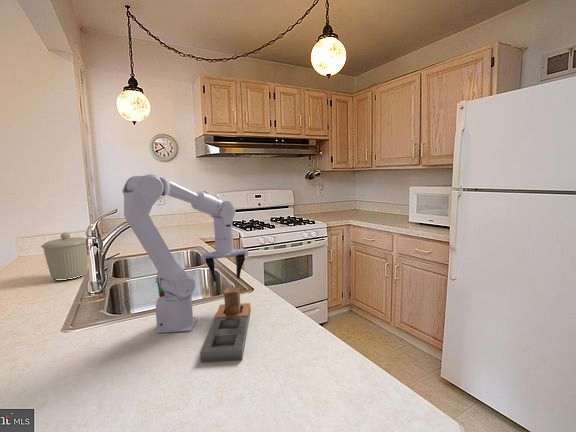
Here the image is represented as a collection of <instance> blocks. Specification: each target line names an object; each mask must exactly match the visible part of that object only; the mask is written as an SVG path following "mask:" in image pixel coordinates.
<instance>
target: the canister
mask: <svg viewBox="0 0 576 432" xmlns="http://www.w3.org/2000/svg"><path fill="white" fill-rule="evenodd" d="M86 239H87V238H86V237H79V236H78V237H77V236H76V237H75V236H74V237H71V235H70V233H68V232H62V233H61V234H60V238H59V239H58V238H57V239H52V240H49V241H46V242H44V243H43V244H42V245H40V247H41V248H42V249H43V253H44V257H45V259H46V260H45V261H46V264H47V268H48V270H49V275H50V276H51V279H53V280H54V279H68V278H73V277H77V276H80V275H83V274H85V273H86V272H87V273H88V267H89V258H88V259H87V251H86ZM87 273H86V274H87ZM86 274H85V275H86Z"/></svg>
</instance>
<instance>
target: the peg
mask: <svg viewBox="0 0 576 432" xmlns="http://www.w3.org/2000/svg"><path fill="white" fill-rule="evenodd" d="M240 292H241V291H240V287H226V288H225V290H224V293H223V295H224V304H225V314H233V313H241V305H240V304H241V293H240Z"/></svg>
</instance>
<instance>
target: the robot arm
mask: <svg viewBox="0 0 576 432" xmlns="http://www.w3.org/2000/svg"><path fill="white" fill-rule="evenodd" d="M121 192H122V195H123V216H124V218H125V220H126V221H127V223H128V225H129V226H130V228H131V229H132V231H133V233H134V234H135V236H136V238H137V240H139V241H138V242H139V243H140V244H141V246H142V248H143V249H144V251H145V252H146V254H147V256H148V257H149V259H150V261H151V262H152V263H153V265H154V267H155V269H156V270H157V272H156V277H158V278H159V284H160V287H161V289H162V290H163V291H164V292H165V296H164V297H158V298H157V300H156V302H155V318H156V319H155V320H156V328H157V329H156V333H157V334H158V333H160V334H161V333H163V334H164V333H176V332H179V333H180V332H190V331H191V332H192V330H193V328H194V326H195V324H196V322H197V320H198V317H197V316H195V317H194V313H193V298H192V296H193V295H192V294H193V293H194V291H195V288H196V281H195V279H194V277H192V276H190V275H189V274H188V273H187V272H186V270H185V269H184V268H183V267H181V266H180V264H178V262H177V261H176V259H175V258H174V256H173V254H172V253H171V251H170V249H169V247H168V246H167V243H166V242H165V239H164V238H163V237H162V235H161V233H160V231H159V230H158V228H157V226H156V225H155V223H154V221H153V220H152V217H151V216H150V213H151V211H152V208H153V206H154V205H155V204H156V202H158V201H159V199H160V197H162V196H169V197H171V198H175V199H177V200H181V201H184V202H186V203H188V204H191V208H192V209H193V210H196V211H199V212H201V213H204V214H207V215H209V216H210V217H211V218H213V229H214V243H215V245H214V246H215V250H214V251H210V252H204V253H203V252H202V253H201V261H205V264H206V266H207V267H208V269H209V270H210V273H211V276H212V281H213V283H215V282H216V281H217V280H216V279H217V278H216V270H215V259H216V260H217V259H223V258H234V257H235V264H236V278H237V279H240V278H241V271H242V268H243V265H244V263H245V260H246V256H249V254H248V253H249V250H248V249H247V248H239V249H237V248H236V249H235V248H234V231H233V223H234V217H235V215H236V208H235V207H234V205H233V203H232V202H230V201H229V200H222V198H221V197H219V196H213V195H211V194H210V192H209V191H207V190H201V191H196V192H194V191H191V190H190V189H188V188H186V187H184V186H181V185H179V184H177V183H175V182H173V181H171V180H169V179H166V178H164V177H161V176H160V177H159V176H157V174H156V175H155V174H151V173H150V174H145V175H133V176H131V177H129V178H128V179H127V180H126V181H125V183H124V185H123V188H122V189H121Z"/></svg>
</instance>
